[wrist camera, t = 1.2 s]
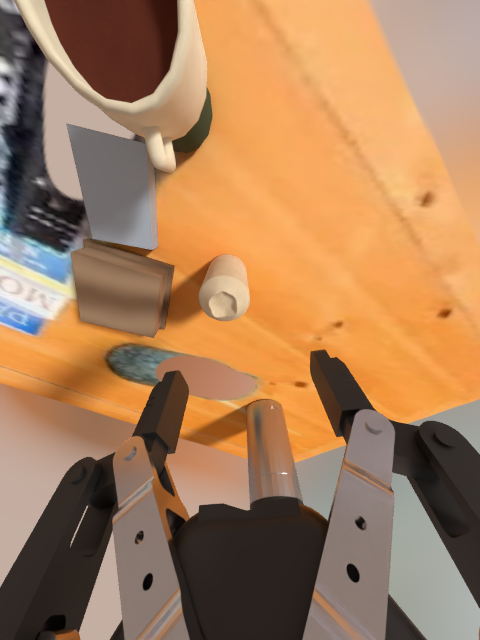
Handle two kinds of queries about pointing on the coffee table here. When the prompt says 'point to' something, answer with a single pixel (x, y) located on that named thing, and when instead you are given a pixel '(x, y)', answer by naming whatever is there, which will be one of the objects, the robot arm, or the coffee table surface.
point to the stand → (121, 288)
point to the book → (116, 187)
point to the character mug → (131, 65)
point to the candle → (225, 289)
